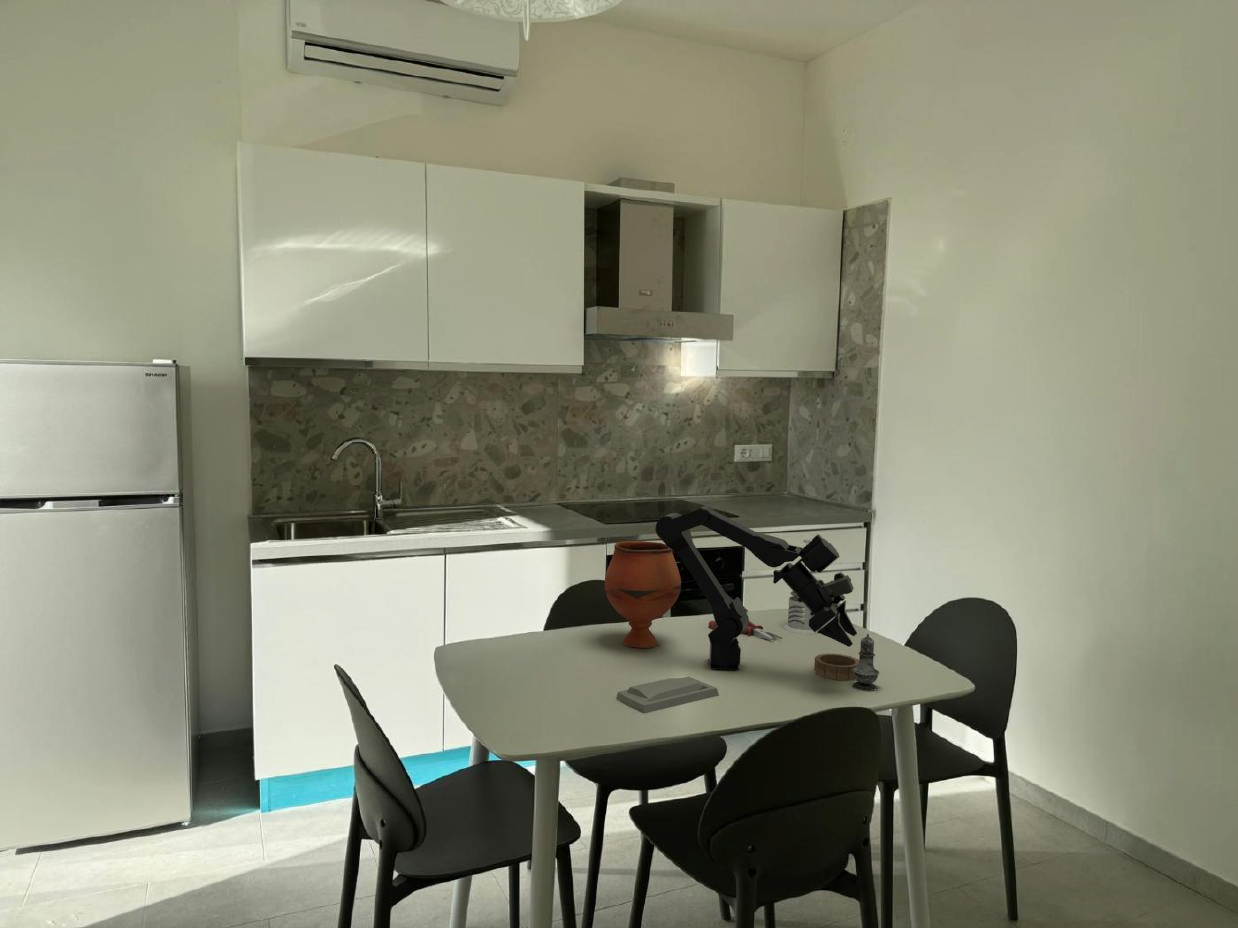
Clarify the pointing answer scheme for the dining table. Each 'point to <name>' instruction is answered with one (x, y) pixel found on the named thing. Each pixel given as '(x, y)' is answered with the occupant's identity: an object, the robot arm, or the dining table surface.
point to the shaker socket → (835, 666)
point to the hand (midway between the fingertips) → (853, 639)
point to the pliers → (753, 631)
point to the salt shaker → (865, 666)
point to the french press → (798, 613)
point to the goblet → (642, 586)
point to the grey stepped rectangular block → (666, 694)
